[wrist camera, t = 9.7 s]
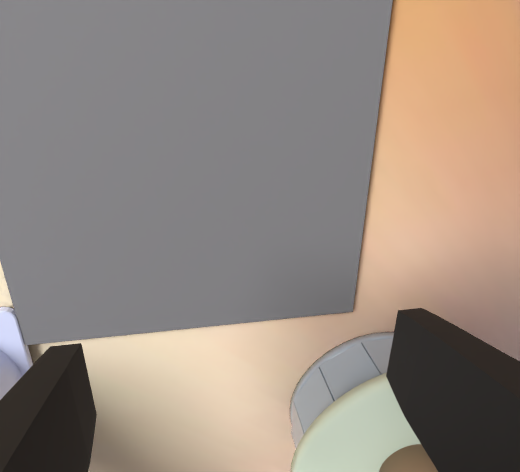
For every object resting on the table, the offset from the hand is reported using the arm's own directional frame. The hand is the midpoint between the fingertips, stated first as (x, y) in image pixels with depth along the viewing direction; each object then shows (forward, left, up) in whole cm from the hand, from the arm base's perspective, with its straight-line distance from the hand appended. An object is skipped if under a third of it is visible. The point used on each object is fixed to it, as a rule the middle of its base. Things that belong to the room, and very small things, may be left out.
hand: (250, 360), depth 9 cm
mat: (-1, +2, -10) cm, 10 cm away
